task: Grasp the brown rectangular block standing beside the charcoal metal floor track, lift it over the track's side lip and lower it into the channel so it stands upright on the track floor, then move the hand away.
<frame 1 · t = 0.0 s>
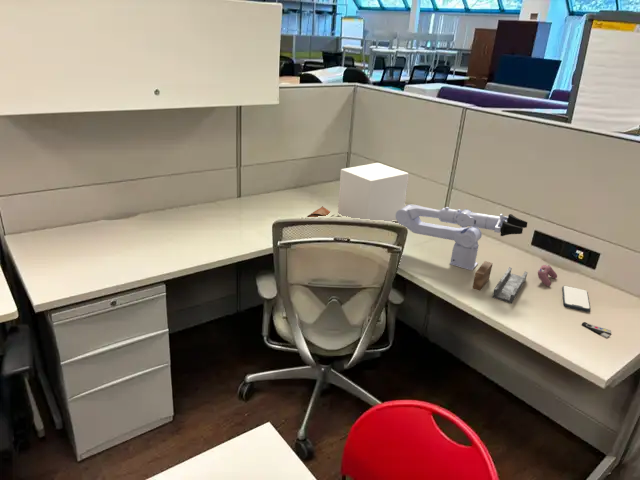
hand: (524, 227, 183), 22 cm above the table, tool horizontal, fingers open, 7 cm apart
sunglasses case: (320, 219, 242), on the table
video game controller: (545, 280, 192), on the table
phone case: (575, 300, 180), on the table
floor track: (509, 288, 185), on the table
cube: (370, 218, 246), on the table
usb flash drive: (597, 330, 162), on the table
brown rectangular block: (480, 283, 187), on the table
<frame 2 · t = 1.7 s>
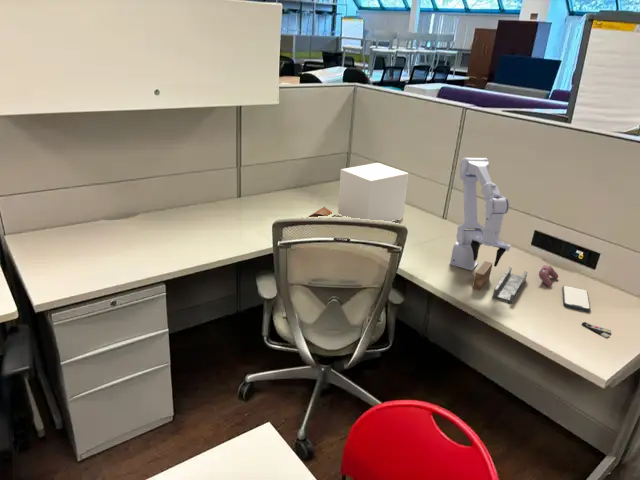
hand: (485, 262, 184), 9 cm above the table, tool pointing down, fingers open, 7 cm apart
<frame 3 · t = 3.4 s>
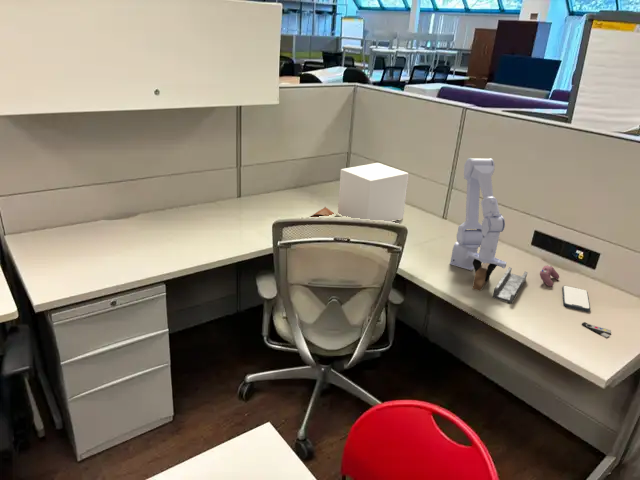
hand: (481, 279, 187), 2 cm above the table, tool pointing down, fingers closed on brown rectangular block, 3 cm apart
brown rectangular block: (481, 283, 187), on the table, touching gripper
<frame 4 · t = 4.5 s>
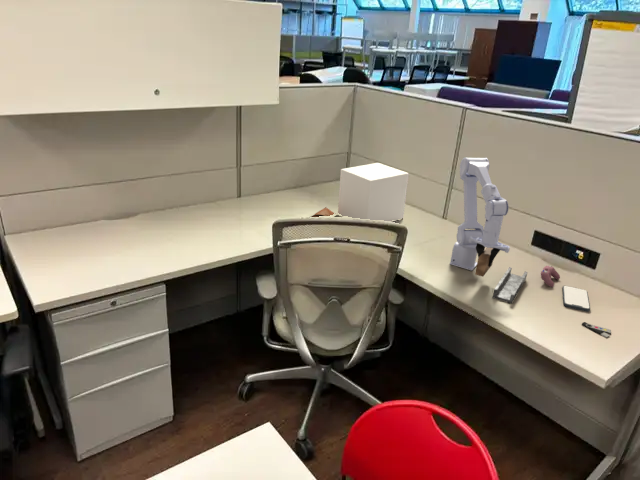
hand: (484, 264, 184), 8 cm above the table, tool pointing down, fingers closed on brown rectangular block, 3 cm apart
brown rectangular block: (483, 269, 185), point 6 cm above the table, touching gripper
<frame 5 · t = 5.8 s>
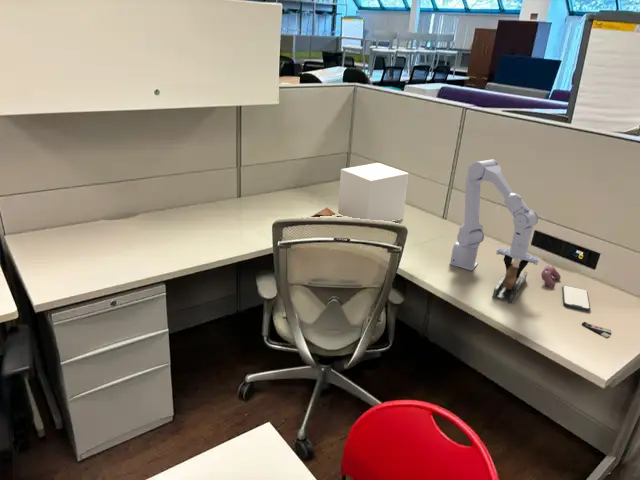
hand: (512, 276, 183), 5 cm above the table, tool pointing down, fingers closed on brown rectangular block, 3 cm apart
brown rectangular block: (511, 282, 183), point 3 cm above the table, touching gripper
when the fingers open (4 cm above the table, at t = 6.7 s): brown rectangular block stays where it is, resting on floor track.
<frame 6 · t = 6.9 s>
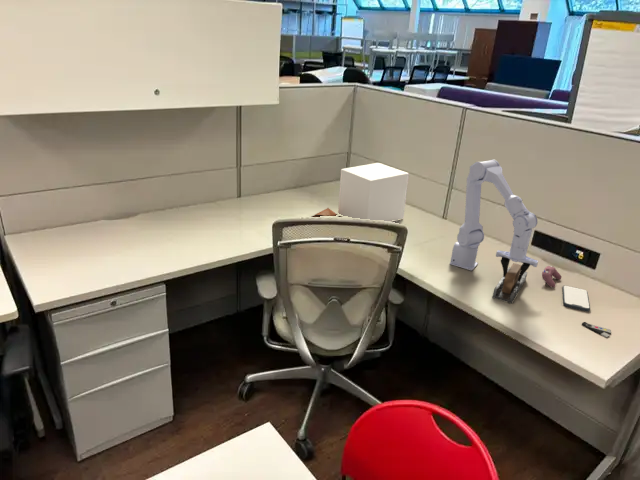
hand: (511, 278, 183), 4 cm above the table, tool pointing down, fingers open, 5 cm apart
brown rectangular block: (510, 286, 184), point 1 cm above the table, touching floor track
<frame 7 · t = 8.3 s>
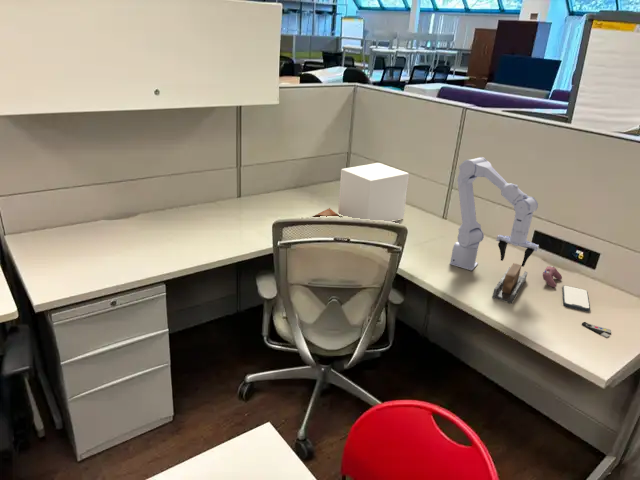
hand: (512, 262, 184), 9 cm above the table, tool pointing down, fingers open, 7 cm apart
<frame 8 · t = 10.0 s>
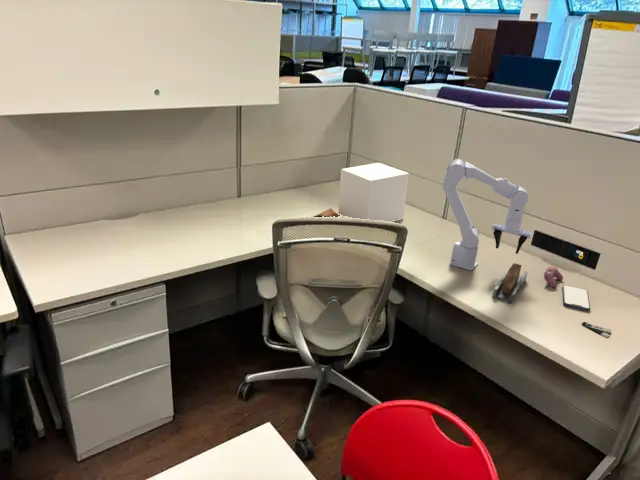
hand: (507, 250, 194), 9 cm above the table, tool pointing down, fingers open, 7 cm apart
at the end: brown rectangular block inside the target area on the floor track (0.2 cm from its centre), point 1.0 cm above the floor track's base; brown rectangular block tilted 0°; the gripper is holding nothing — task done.
